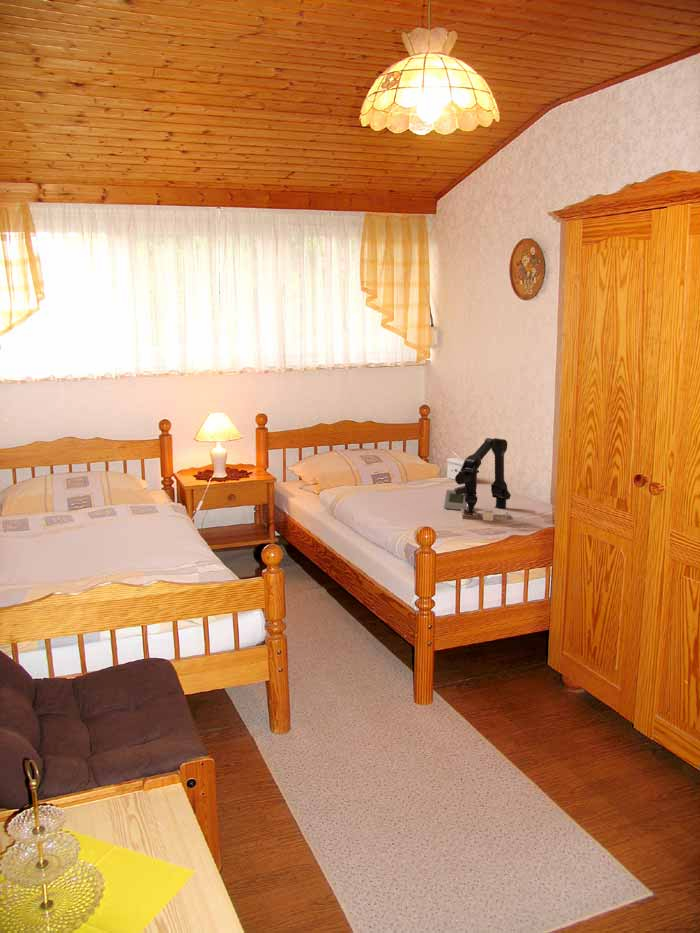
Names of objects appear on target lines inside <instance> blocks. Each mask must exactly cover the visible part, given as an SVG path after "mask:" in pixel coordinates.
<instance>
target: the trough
mask: <svg viewBox="0 0 700 933" xmlns="http://www.w3.org/2000/svg"><path fill="white" fill-rule="evenodd" d="M466 513H467V509H461V519H462V521H463V520H479V513H478V509H474V510H473V515H466Z"/></svg>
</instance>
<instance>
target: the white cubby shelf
mask: <svg viewBox="0 0 700 933" xmlns="http://www.w3.org/2000/svg"><path fill="white" fill-rule="evenodd" d="M493 514H494V511H493V510H488V509H487V510H482V521H493V520H494V519H493Z"/></svg>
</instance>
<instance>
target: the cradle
mask: <svg viewBox="0 0 700 933" xmlns="http://www.w3.org/2000/svg"><path fill="white" fill-rule="evenodd" d="M510 517H511V516H510V513H509V512H508V511H506V512H505V514H503V513H493V520H510V519H511V518H510Z"/></svg>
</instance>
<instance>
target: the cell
mask: <svg viewBox="0 0 700 933" xmlns="http://www.w3.org/2000/svg"><path fill="white" fill-rule="evenodd" d="M473 510H474V509H473ZM465 515H474V513H473V511H472V513H469V507H468V503H467V513H465Z"/></svg>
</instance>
